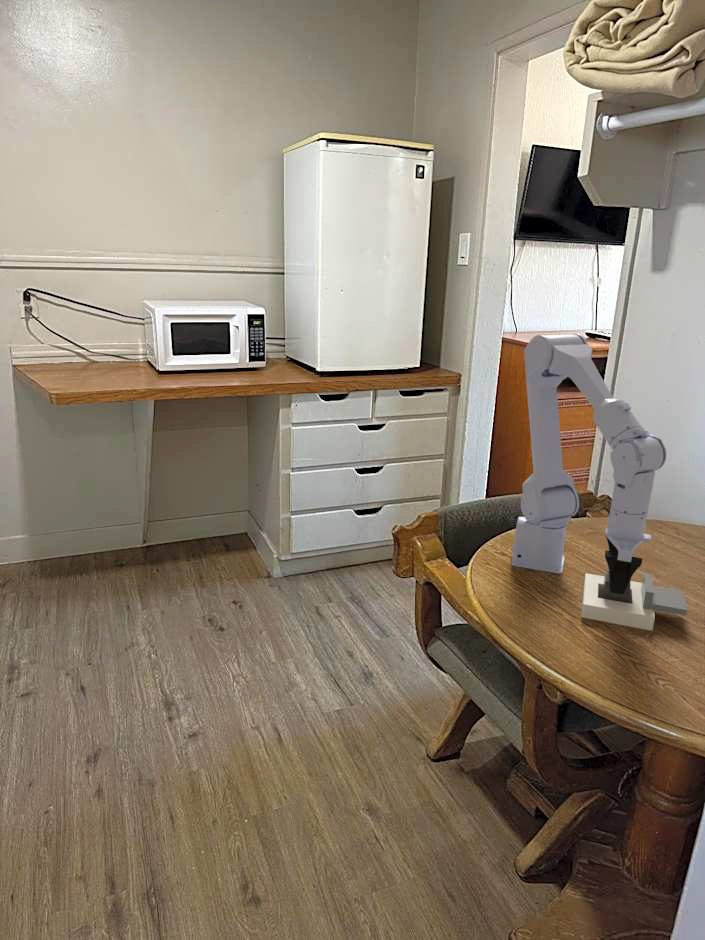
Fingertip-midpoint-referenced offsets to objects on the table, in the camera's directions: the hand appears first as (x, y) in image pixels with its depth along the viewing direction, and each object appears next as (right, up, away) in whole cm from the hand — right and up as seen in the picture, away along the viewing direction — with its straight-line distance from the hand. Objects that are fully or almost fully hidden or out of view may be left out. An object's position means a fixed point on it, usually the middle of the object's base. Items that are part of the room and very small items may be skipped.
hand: (616, 582), depth 115 cm
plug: (0, -4, +1) cm, 5 cm away
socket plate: (0, -4, +1) cm, 5 cm away
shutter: (+7, -3, -2) cm, 8 cm away
